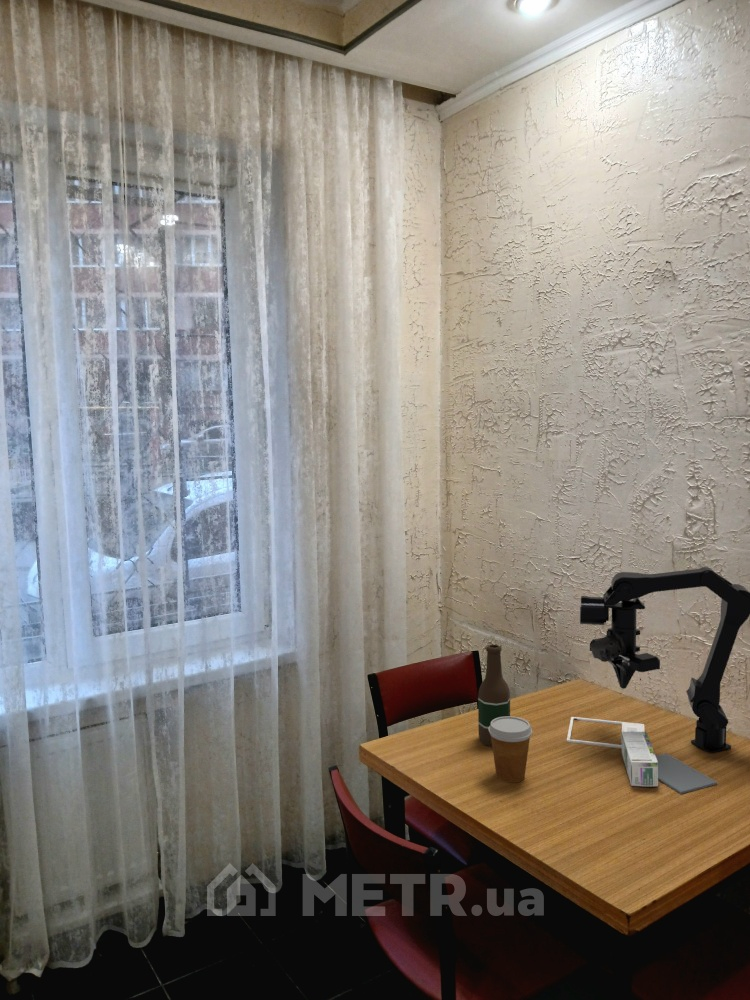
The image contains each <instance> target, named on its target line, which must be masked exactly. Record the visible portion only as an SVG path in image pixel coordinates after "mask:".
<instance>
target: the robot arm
mask: <svg viewBox="0 0 750 1000" xmlns="http://www.w3.org/2000/svg"><path fill="white" fill-rule="evenodd" d="M702 587H705V588H707V589H709V590H710V591H711V592H712V593H714V594H715V595H717V596H718V597H719V598H720V599H721V601H720V621H719V623H718V627H717V629H716V632H715V634H714V637H713V641H712V644H711V646H710V649H709V653H708V656H707V659H706V662H705V665H704V668H703V671H702V673H701V675H700V676H699V677H698V678H694V677H691V678H690V684H689V686H688V689H686V691H685V692H686V694H687V699H688V702H689V705H690V707H691V709H692V712H693V714H694V715H695V717H697V718H698V719H697V720H696V721H695V722H696V724H695V725H696V726H695V728H694V730H695V732H694V733H695V734H694V739H691V740H690V743H691V744H693V745H695V746H696V747H699V748H700V749H702V750H704V751H707V752H708V753H710V754H713V753H717V752H722V751H725V750H731V749H732V745H731V744H728V743H727V726H728V723H729V719H728V717H727V715H726V713H725V712H724V709H723V707H722V706H721V705H720V701H721V683H722V679H723V677H724V673H725V671H726V668H727V666H728V662H729V659H730V656H731V653H732V651H733V648H734V645H735V642H736V639H737V636H738V633H739V630H740V629H741V627H742V626H743V625H744V624H745V622H746V621H747V620H748V619H749V617H750V591H749V590H748V589H747V588H746V587H745V586H743V585H741V584H737V583H732V582H730V581H729V580H727V579H726V578H724V577H723V576H722V575H720V574H718V573H716V572H715V571H714V569H712V568H710V567H709V566H702V567H700V568H694V569H685V570H675V571H667V572H666V571H665V572H658V573H651V574H650V573H642V572H641V573H639V572H632V571H621V572H617V573H615V574H614V576H613V577H612V579H611V583H610V586H609V588H608V589H606V590H605V592H604V593H603V595H602V597H601V596H589V595H581V597H580V606H579V624H580V625H592V626H593V625H595V626H596V625H597V626H604V625H605V624H606V623H607V622H609V620H610V619H611V627H609V628H607V630H606V635H605V636H603V637H600V638H594V639H592V640H591V641H590V643H589V651H590V652H591V653H592V657H593V658H594V659H598V660H600V661H601V662H604V663H607V662H608V663H609V664H610V665H611V666H612V667H613V671H614V672H615V675H616V678H617V681H618V684H619V687H620V688H621V689H623V690H624V689H627V687H628V685H629V683H630V682H631V680H632V677H633V676H634V675H635V673H636V672H638V673H645V672H647V673H648V672H651V671H656V670H660V669H661V659H660V658H658V656H656V655H653V654H651V653H648V652H644V653H640V652H641V647H640V646H639V645H637V636H640V635H641V630H640V629H637V610H646V605H645V604H644V602H642V601H641V600H640V598H642V597H644V596H647V595H649V594H652V593H658V592H667V591H675V590H676V591H677V590H685V589H692V588H693V589H694V588H702ZM610 609H611V618H610V614H609V613H610ZM638 652H639V653H640V654H639V653H638Z"/></svg>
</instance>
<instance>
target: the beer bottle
mask: <svg viewBox="0 0 750 1000" xmlns="http://www.w3.org/2000/svg"><path fill="white" fill-rule="evenodd" d="M502 650H503V649H502V647H501V645H498V644H488V645H487V646H486V649H485V651H486V652H487V653H486V672H485V678H484V679H483V681H482V682H481V684H480V686H479V688H478V697H477V703H478V705H477V706H478V707H477V709H478V710H477V711H478V713H477V714H478V716H477V717H478V728H477V729H478V740H479V741H480V743H482V745H484V746H488V747H492V740H491V735H490V732H489V726H490V724H491V721H492V720H493V719H495V718H498V717H504V716H511V692H510V691H511V690H510V687H509V684H508V683H507V682H506V680H505V679H504V677H503V676H504V675H503V671H502V655H501V652H502Z"/></svg>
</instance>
